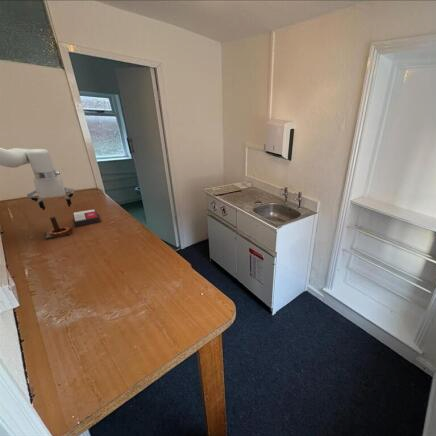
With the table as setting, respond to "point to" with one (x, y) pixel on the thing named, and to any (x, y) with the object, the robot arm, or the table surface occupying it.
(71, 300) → the table surface
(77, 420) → the table surface
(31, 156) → the robot arm
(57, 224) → the post
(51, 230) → the orange ring
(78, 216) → the calculator
